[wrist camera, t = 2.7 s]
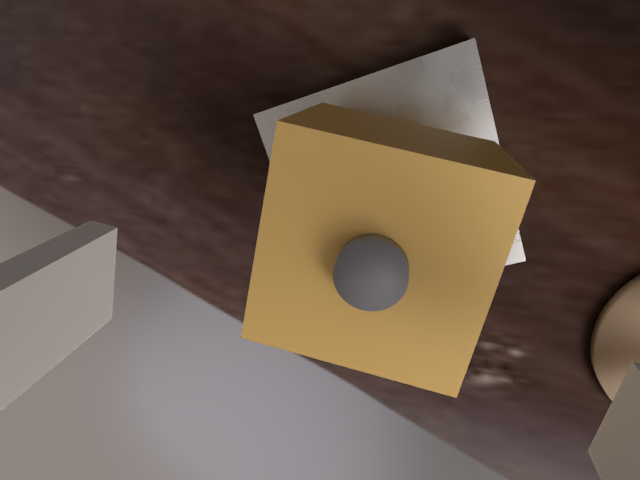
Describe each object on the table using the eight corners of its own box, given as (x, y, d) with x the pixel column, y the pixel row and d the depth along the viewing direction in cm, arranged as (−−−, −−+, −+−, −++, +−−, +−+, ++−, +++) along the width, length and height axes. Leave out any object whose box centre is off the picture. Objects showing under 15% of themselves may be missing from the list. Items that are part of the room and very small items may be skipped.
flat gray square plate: (261, 112, 29) (163, 141, 18) (471, 39, 26) (514, 19, 15) (325, 296, 32) (277, 419, 21) (520, 251, 29) (586, 368, 18)
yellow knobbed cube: (291, 258, 26) (233, 349, 18) (322, 102, 23) (270, 123, 15) (444, 297, 25) (458, 412, 17) (495, 141, 22) (542, 186, 14)
